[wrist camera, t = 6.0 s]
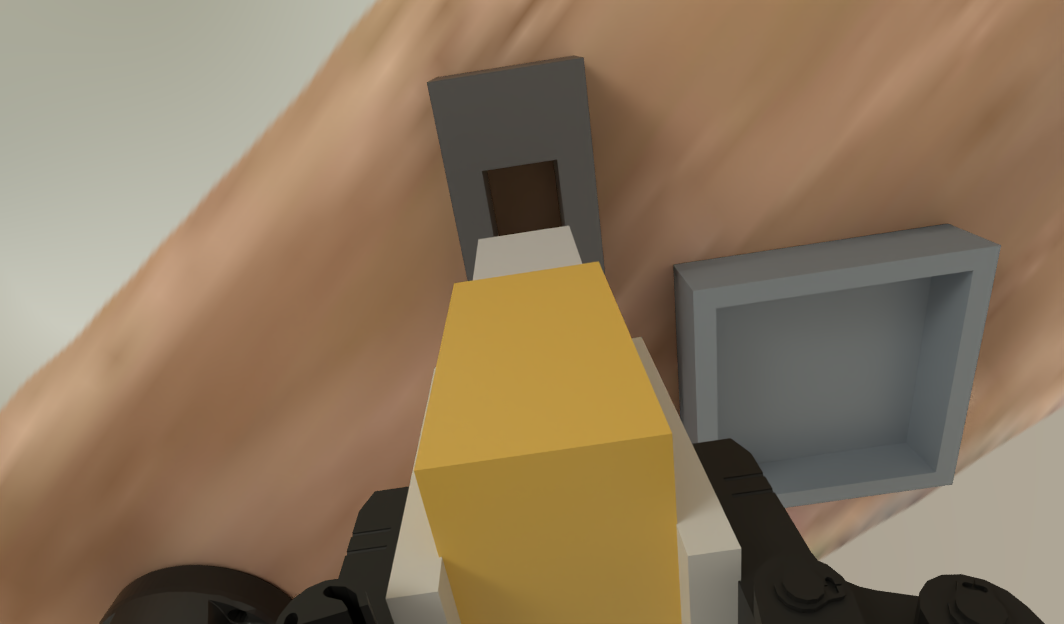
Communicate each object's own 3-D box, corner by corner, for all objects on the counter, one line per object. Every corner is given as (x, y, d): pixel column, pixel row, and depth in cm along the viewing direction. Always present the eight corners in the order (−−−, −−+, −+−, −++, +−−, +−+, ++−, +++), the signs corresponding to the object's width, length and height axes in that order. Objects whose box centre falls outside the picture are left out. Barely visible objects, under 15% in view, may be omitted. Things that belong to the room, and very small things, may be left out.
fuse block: (485, 323, 35) (483, 356, 32) (436, 77, 30) (426, 82, 26) (600, 306, 35) (611, 337, 32) (573, 55, 29) (583, 57, 26)
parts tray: (682, 477, 41) (700, 519, 37) (673, 264, 34) (693, 291, 31) (912, 444, 41) (952, 484, 37) (948, 223, 34) (1000, 245, 30)
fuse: (497, 382, 22) (489, 730, 11) (466, 226, 19) (414, 470, 8) (594, 368, 21) (687, 704, 11) (576, 209, 19) (672, 433, 8)
